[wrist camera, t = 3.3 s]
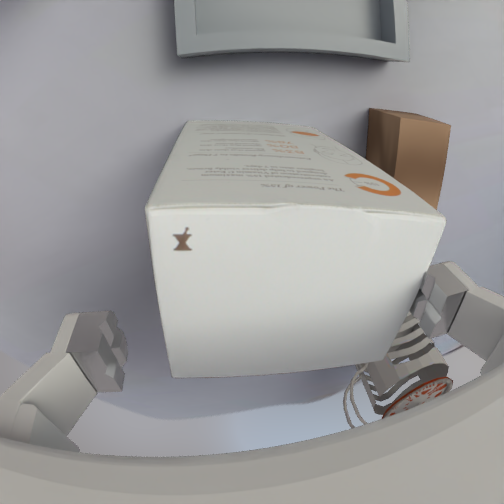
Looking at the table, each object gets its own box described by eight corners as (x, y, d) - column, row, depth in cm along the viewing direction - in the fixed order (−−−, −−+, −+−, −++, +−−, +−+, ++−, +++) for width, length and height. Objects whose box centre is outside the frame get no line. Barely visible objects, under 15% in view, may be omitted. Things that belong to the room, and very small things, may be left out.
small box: (185, 213, 20) (166, 382, 9) (185, 119, 17) (136, 201, 6) (302, 215, 21) (385, 364, 11) (315, 126, 18) (453, 214, 7)
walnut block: (368, 107, 18) (400, 117, 14) (415, 113, 18) (450, 125, 15) (361, 190, 21) (388, 214, 17) (406, 189, 21) (435, 212, 18)
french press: (398, 353, 33) (478, 531, 12) (309, 365, 31) (373, 588, 10) (432, 289, 27) (555, 492, 6) (334, 295, 26) (450, 584, 5)
